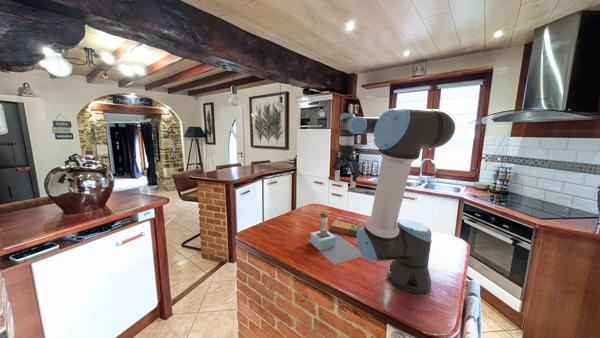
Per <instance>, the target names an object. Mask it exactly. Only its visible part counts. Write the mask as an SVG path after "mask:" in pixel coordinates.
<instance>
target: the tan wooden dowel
mask: <svg viewBox="0 0 600 338" xmlns="http://www.w3.org/2000/svg"><path fill="white" fill-rule="evenodd" d="M319 216H320V217H319V218H320V219H319V231H320V238H326V237H327V231H328V220H329V219H328V218H329V213H327V212H321V213H320V215H319Z"/></svg>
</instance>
